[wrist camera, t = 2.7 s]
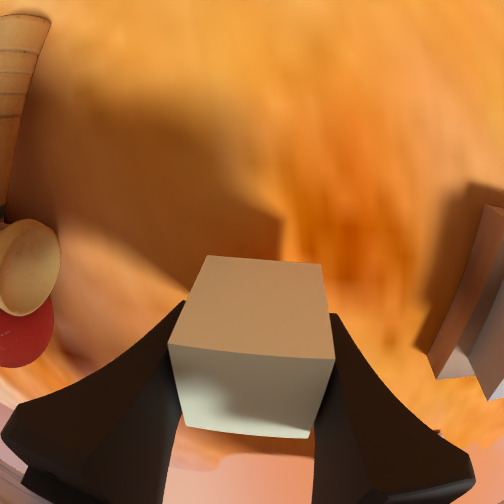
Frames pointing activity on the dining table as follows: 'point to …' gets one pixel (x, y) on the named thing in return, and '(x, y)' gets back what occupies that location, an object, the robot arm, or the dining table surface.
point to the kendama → (27, 230)
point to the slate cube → (491, 351)
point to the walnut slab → (471, 299)
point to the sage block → (253, 347)
